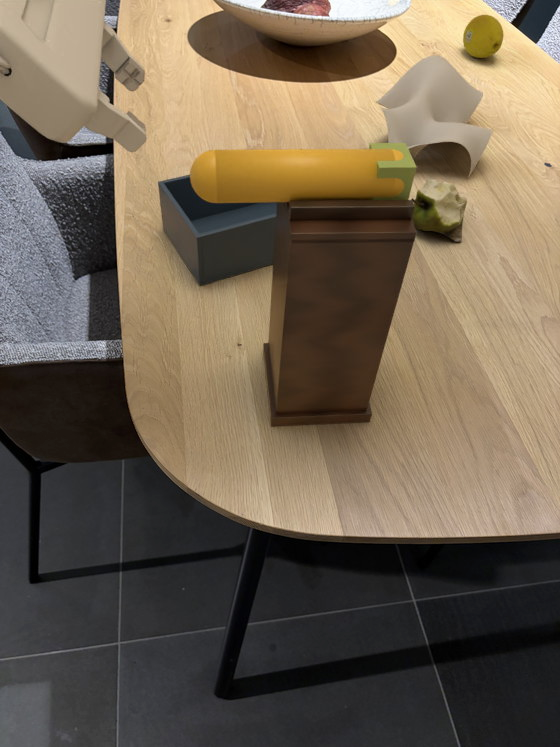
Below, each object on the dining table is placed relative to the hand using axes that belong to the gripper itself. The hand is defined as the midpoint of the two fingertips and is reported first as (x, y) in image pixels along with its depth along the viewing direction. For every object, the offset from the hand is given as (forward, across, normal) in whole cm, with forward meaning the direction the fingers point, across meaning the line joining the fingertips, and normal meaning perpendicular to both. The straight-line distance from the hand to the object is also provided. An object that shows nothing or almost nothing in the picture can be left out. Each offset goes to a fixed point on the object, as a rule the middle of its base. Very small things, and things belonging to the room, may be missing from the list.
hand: (140, 110), depth 46 cm
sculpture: (+54, +50, -13) cm, 75 cm away
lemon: (+70, +84, -30) cm, 114 cm away
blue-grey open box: (+31, +25, +12) cm, 41 cm away
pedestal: (+34, -3, +9) cm, 35 cm away
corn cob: (+13, -4, -5) cm, 14 cm away
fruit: (+50, +25, -8) cm, 56 cm away
